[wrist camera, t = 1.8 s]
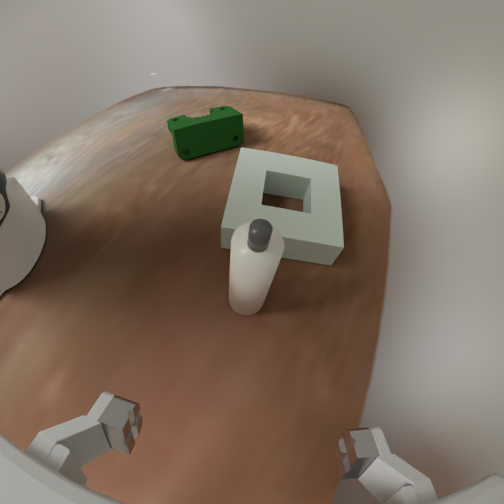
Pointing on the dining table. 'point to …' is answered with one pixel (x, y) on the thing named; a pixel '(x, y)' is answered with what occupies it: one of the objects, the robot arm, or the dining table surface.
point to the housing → (284, 220)
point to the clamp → (206, 132)
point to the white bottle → (253, 264)
